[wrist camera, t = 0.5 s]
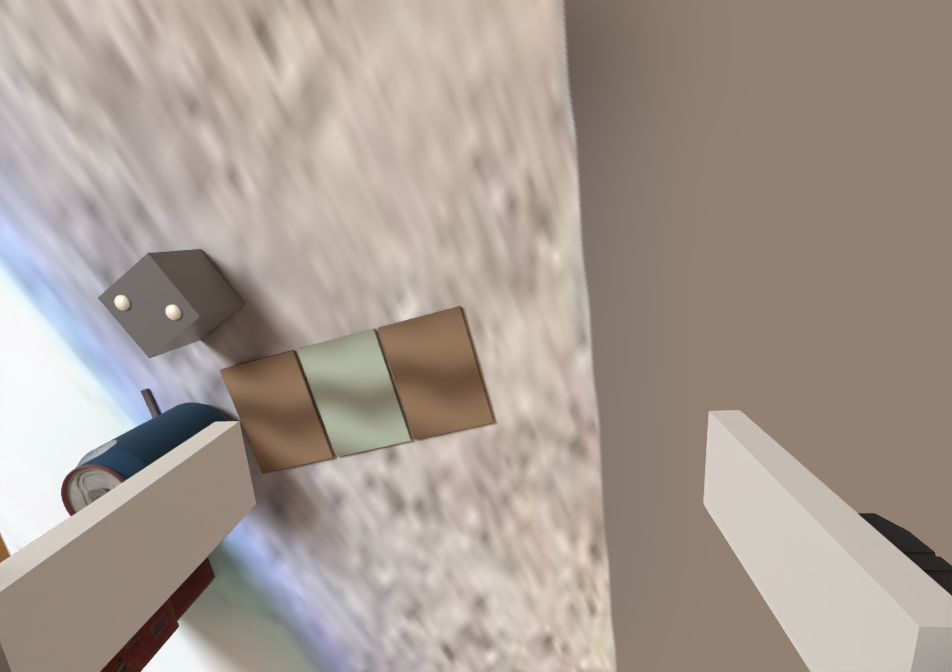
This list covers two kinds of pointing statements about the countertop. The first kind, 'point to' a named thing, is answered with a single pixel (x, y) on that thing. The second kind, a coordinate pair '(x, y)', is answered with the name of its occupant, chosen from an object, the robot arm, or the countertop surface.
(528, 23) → the countertop surface
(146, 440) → the soda can
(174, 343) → the die
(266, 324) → the countertop surface
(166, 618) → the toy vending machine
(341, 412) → the game board
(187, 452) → the robot arm
